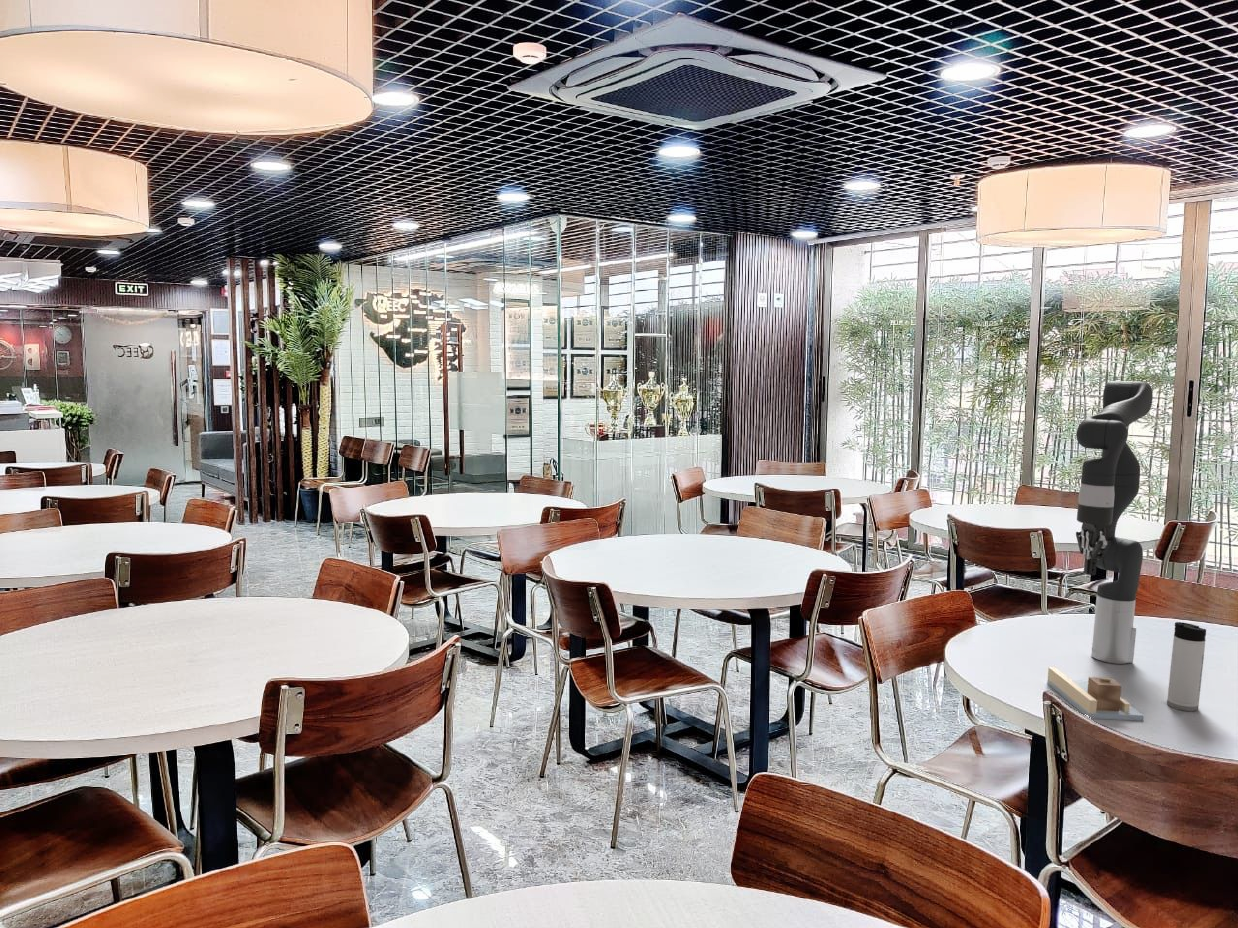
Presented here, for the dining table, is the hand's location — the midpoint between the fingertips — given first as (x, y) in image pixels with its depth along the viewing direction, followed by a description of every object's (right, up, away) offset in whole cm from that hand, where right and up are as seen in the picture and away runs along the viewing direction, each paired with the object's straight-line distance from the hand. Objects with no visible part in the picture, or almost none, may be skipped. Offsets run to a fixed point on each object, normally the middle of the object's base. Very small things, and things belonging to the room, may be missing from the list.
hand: (1089, 574), depth 217 cm
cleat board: (-1, -30, -4) cm, 30 cm away
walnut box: (-2, -29, -10) cm, 31 cm away
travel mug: (+19, -31, -5) cm, 36 cm away
